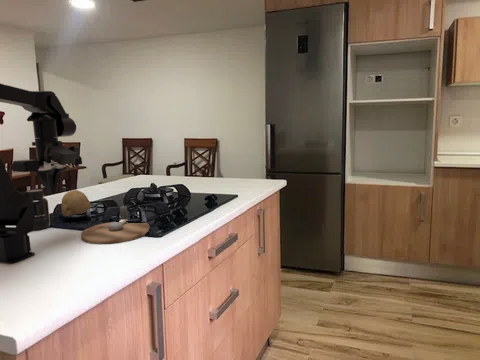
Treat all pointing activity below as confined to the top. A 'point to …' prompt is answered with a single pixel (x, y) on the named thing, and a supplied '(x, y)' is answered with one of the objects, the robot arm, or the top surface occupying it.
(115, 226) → the multicoloured piece
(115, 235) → the round wooden board
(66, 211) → the natural sponge
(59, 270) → the top surface
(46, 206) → the supplement bottle
